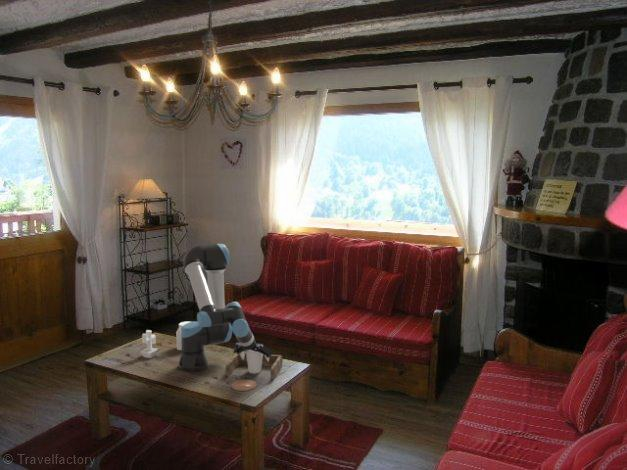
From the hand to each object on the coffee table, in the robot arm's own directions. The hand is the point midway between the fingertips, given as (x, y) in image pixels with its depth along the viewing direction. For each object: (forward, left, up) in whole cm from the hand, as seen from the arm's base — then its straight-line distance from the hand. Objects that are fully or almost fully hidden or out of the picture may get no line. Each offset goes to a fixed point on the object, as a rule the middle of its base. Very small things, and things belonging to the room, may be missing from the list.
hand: (255, 358), depth 265 cm
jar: (-23, -49, -6) cm, 54 cm away
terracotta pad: (+20, 0, -6) cm, 21 cm away
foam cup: (+2, 0, -6) cm, 7 cm away
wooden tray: (+2, 0, -6) cm, 7 cm away
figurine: (-7, -64, -6) cm, 65 cm away
